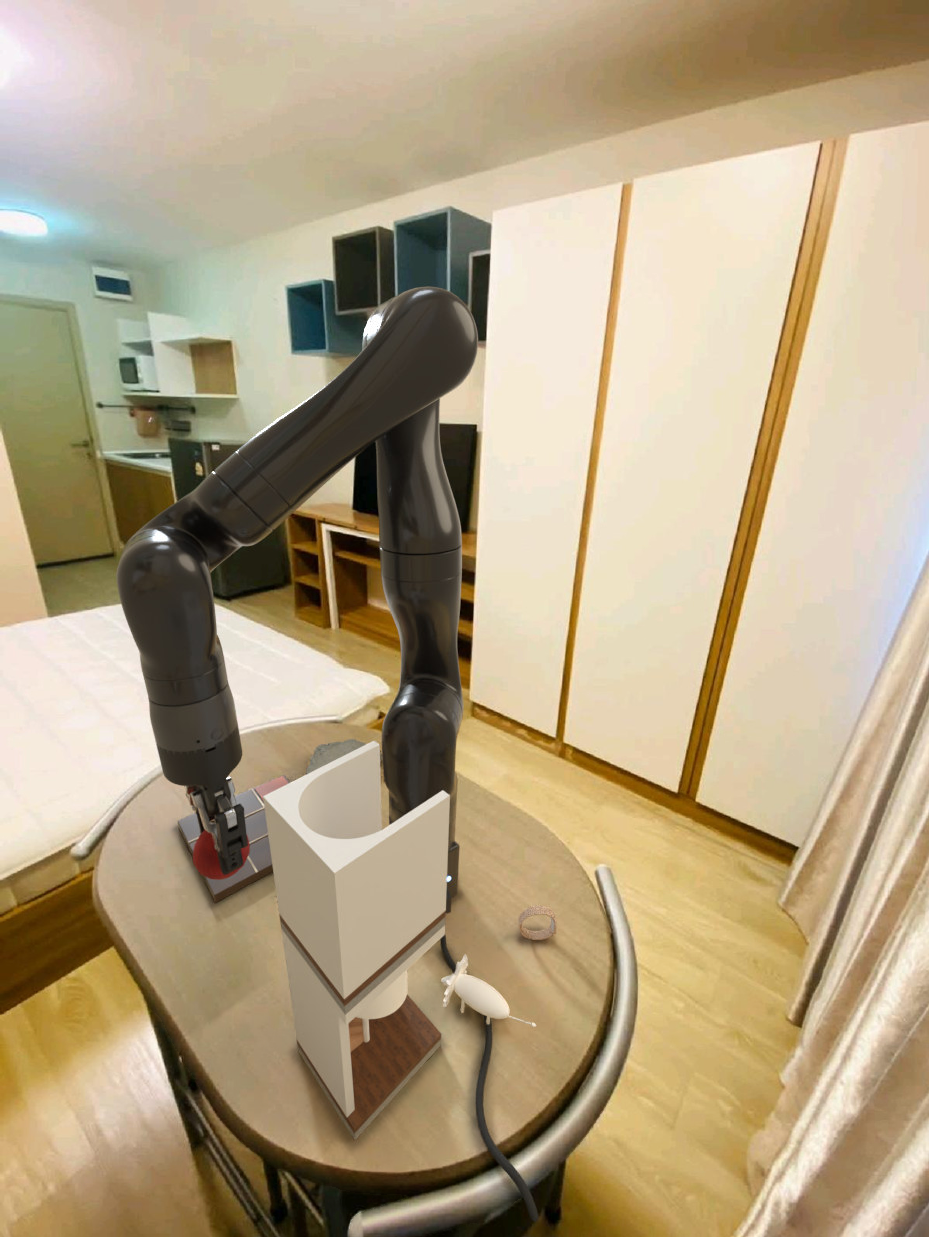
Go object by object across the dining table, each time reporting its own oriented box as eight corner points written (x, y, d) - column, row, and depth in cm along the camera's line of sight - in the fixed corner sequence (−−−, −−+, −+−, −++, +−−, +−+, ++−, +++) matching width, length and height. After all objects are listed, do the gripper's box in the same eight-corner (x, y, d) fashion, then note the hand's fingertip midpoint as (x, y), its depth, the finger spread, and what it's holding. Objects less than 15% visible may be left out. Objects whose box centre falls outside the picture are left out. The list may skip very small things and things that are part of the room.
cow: (430, 1007, 61) (431, 981, 59) (454, 969, 65) (455, 943, 64) (523, 1071, 56) (527, 1044, 54) (542, 1025, 60) (547, 998, 58)
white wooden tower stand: (355, 1140, 50) (334, 873, 37) (297, 1050, 57) (263, 796, 43) (440, 1045, 58) (449, 795, 44) (381, 975, 64) (374, 740, 51)
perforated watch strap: (554, 945, 69) (558, 918, 67) (518, 944, 69) (521, 918, 67) (551, 926, 71) (554, 900, 69) (516, 925, 71) (519, 899, 69)
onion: (260, 853, 63) (251, 802, 60) (243, 895, 58) (233, 841, 55) (211, 854, 63) (199, 802, 60) (190, 896, 57) (176, 841, 54)
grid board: (332, 839, 84) (331, 831, 83) (215, 903, 73) (213, 894, 72) (284, 781, 96) (283, 773, 95) (178, 827, 85) (176, 819, 84)
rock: (282, 776, 97) (280, 755, 95) (349, 739, 109) (349, 720, 107) (322, 806, 90) (321, 784, 89) (389, 763, 102) (389, 743, 101)
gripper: (137, 709, 55) (167, 831, 61) (177, 778, 45) (208, 914, 52) (211, 686, 60) (232, 802, 66) (262, 744, 50) (281, 873, 56)
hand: (222, 850), depth 59 cm, fingers closed on onion, 6 cm apart
